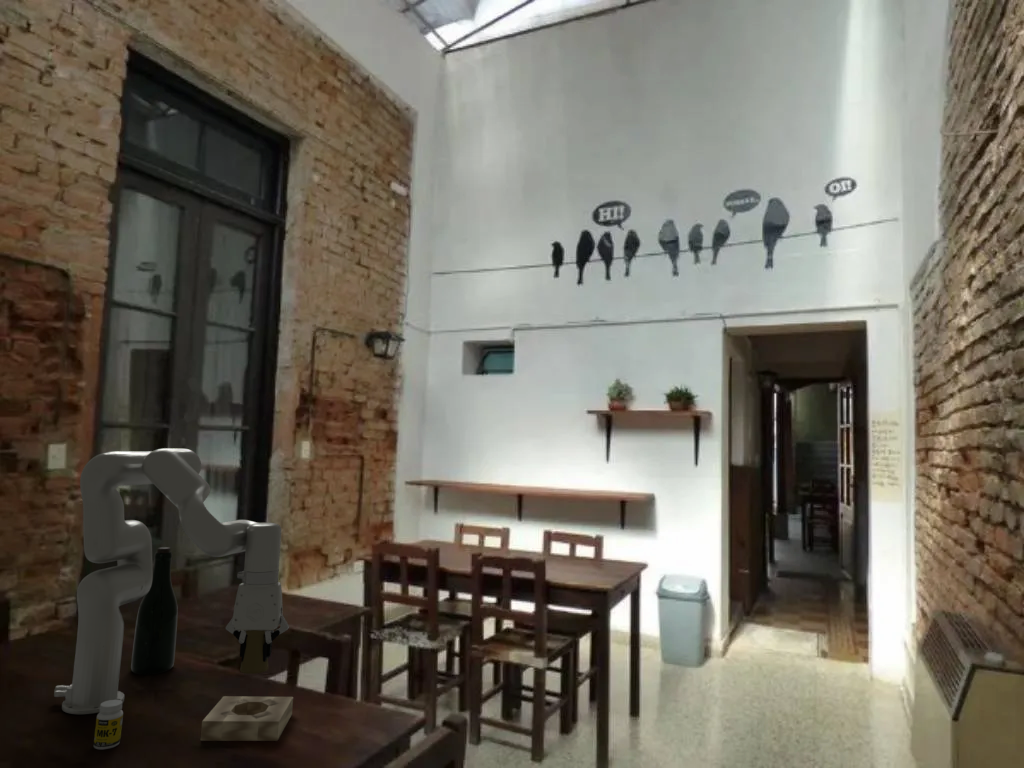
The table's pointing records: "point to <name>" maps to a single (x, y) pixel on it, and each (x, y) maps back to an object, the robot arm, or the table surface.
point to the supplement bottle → (108, 725)
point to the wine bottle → (156, 621)
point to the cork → (254, 653)
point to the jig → (247, 719)
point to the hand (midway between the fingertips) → (255, 659)
